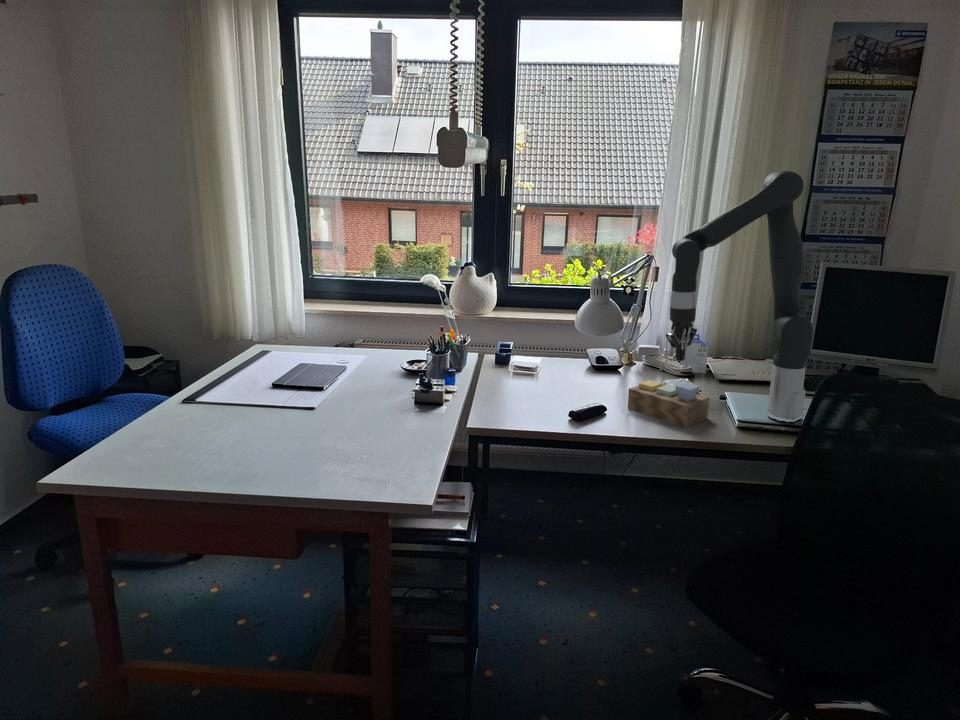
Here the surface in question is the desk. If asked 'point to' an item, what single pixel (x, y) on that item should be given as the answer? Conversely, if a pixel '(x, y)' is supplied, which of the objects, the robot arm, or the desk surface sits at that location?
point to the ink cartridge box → (696, 355)
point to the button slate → (687, 391)
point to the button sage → (667, 390)
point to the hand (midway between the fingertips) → (680, 360)
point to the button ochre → (650, 385)
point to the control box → (668, 406)
